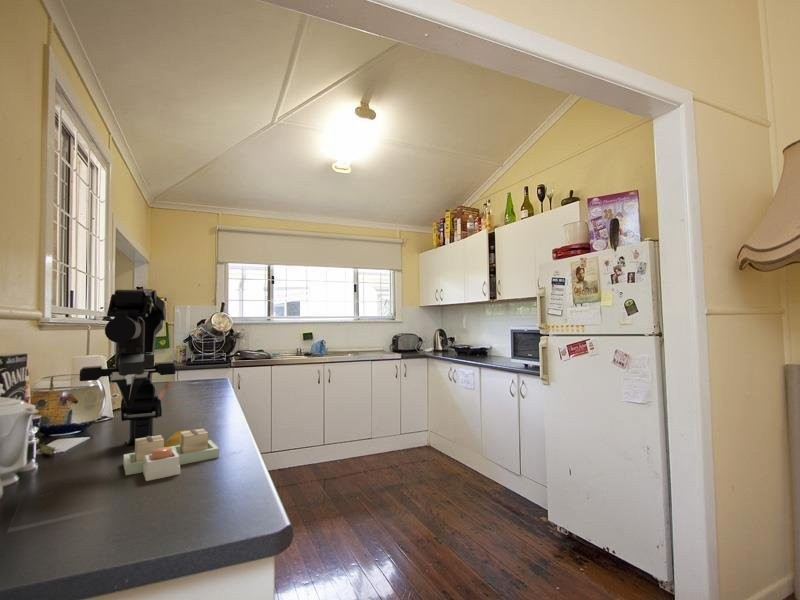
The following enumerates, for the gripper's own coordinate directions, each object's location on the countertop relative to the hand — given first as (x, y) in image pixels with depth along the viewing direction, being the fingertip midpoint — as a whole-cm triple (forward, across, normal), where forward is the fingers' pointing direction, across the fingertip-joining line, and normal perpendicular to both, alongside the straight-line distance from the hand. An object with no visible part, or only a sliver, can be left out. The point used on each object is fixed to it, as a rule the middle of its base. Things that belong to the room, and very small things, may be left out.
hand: (128, 407), depth 96 cm
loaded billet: (+11, +3, -10) cm, 16 cm away
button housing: (+12, +5, -18) cm, 22 cm away
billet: (+11, +12, -10) cm, 20 cm away
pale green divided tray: (+12, +8, -10) cm, 17 cm away
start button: (+9, +5, -18) cm, 21 cm away
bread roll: (+12, +12, +3) cm, 17 cm away
